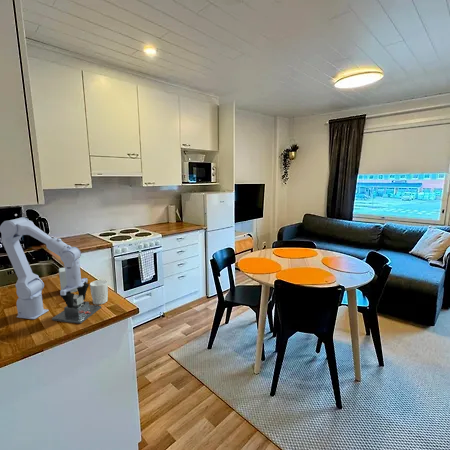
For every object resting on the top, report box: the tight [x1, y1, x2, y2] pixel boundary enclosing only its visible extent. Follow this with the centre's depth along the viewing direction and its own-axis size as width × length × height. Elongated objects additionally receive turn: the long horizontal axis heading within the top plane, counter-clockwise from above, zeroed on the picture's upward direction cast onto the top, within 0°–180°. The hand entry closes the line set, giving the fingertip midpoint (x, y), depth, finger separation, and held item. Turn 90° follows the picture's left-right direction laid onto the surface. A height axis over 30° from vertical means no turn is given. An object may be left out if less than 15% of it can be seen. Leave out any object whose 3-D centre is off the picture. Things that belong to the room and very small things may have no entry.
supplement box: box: [58, 266, 78, 293], centre depth 146 cm, size 7×7×13 cm
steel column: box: [73, 293, 84, 308], centre depth 122 cm, size 4×4×7 cm
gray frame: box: [51, 300, 102, 325], centre depth 123 cm, size 14×14×5 cm
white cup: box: [89, 279, 109, 306], centre depth 134 cm, size 8×8×10 cm
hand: (76, 303), depth 122 cm, fingers open, 7 cm apart
